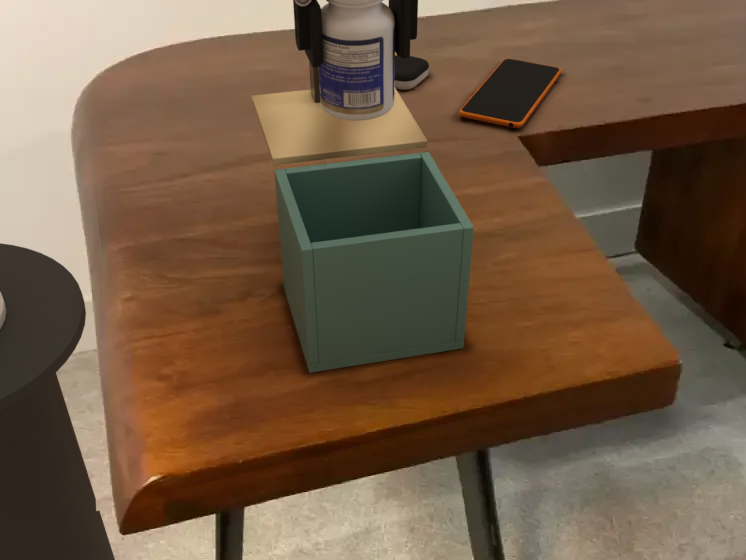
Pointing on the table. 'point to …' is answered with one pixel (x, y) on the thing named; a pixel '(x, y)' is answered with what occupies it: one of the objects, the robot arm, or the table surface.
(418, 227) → the box
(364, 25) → the pill bottle
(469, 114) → the smartphone
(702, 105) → the table surface
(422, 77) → the remote control
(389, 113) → the slide lid
